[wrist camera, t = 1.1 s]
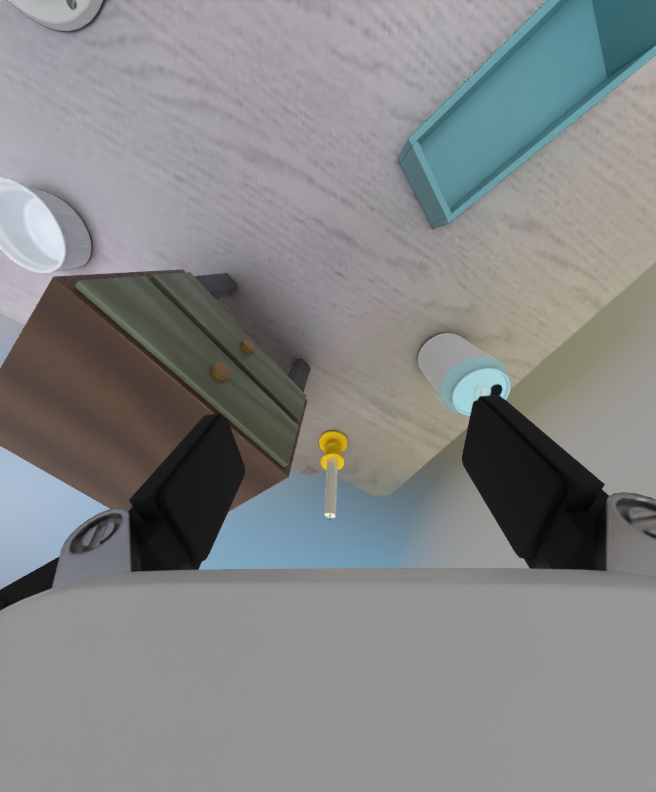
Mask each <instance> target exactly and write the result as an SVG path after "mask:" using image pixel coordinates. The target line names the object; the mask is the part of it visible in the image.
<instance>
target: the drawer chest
mask: <svg viewBox="0 0 656 792" xmlns="http://www.w3.org/2000/svg"><path fill="white" fill-rule="evenodd" d="M237 287H238V285H237V284H236V283H235V282H234V281H233V279H232V278H231V277H230V276H229V275H228V274H227V273H223V274H213V275H204V276H195V277H194V276H193V275H192V274H191V273H190V272H188V273H186V272H185V271H184V270H165V271H147V272H128V273H110V274H92V275H74V276H56V277H53V278H52V280H51V282H50V284H49V285H48V287H47V289H46V290H45V292H44V294H43V296H42V297H41V299H40V301H39V302H38V304H37V306H36V308H35V309H34V311H33V313H32V314H31V316H30V318H29V320H28V321H27V323H26V325H25V327H24V328H23V330H22V332H21V333H20V335H19V337H18V339H17V340H16V342H15V344H14V345H13V347H12V349H11V351H10V352H9V354H8V356H7V358H6V359H5V361H4V363H3V364H2V366H1V368H0V446H2V447H3V448H5V449H7V450H9V451H11V452H12V453H14V454H16V455H17V456H19V457H21V458H23V459H24V460H26V461H28V462H30V463H31V464H33V465H35V466H37V467H38V468H40V469H42V470H44V471H45V472H47V473H49V474H51V475H52V476H54V477H56V478H58V479H60V480H61V481H63V482H65V483H67V484H68V485H70V486H72V487H73V488H75V489H77V490H79V491H80V492H82V493H84V494H86V495H87V496H89V497H91V498H93V499H94V500H96V501H98V502H100V503H102V504H103V505H105V506H107V507H108V508H110V509H114V508H124V509H125V510H127V511H129V510H130V509H131V507H132V504H131V503H130V502H129V499H130V498H131V497H132V496H133V495H134V494H135V493H136V491H137V490H138V489H139V488H140V487H141V486H142V485H143V484H144V482H145V481H146V480H147V479H148V478H149V477H150V476H151V475H152V473H153V472H154V471H155V470H156V469H157V468H158V467H159V466H160V465H161V463H162V462H163V461H164V460H165V459H166V458H167V457H168V456H169V454H170V453H171V452H172V451H173V450H174V449H175V448H176V447H177V445H178V444H179V443H180V442H181V441H182V440H183V439H184V438H185V436H186V435H187V434H188V433H189V432H190V431H191V430H192V429H193V427H194V426H195V425H196V424H197V423H198V422H199V421H200V420H201V419H202V417H203V416H205V415H210V414H221V415H222V416H223V417H226V418H227V419H228V422H229V424H230V427H231V430H232V433H233V435H234V438H235V441H236V444H237V446H238V449H239V452H240V455H241V457H242V460H243V463H244V466H245V475H244V478H243V480H242V482H241V485H240V487H239V489H238V491H237V493H236V496H235V498H234V500H233V502H232V504H231V507H230V509H229V511H231V510H232V509H234V508H236V507H237V506H239V505H241V504H243V503H244V502H246V501H248V500H250V499H251V498H253V497H255V496H257V495H258V494H260V493H262V492H263V491H265V490H267V489H269V488H270V487H272V486H274V485H276V484H277V483H279V482H281V481H282V480H284V479H286V478H288V477H289V473H290V469H291V465H292V461H293V457H294V453H295V449H296V445H297V440H298V436H299V432H300V428H301V424H302V420H303V416H304V412H305V408H306V404H307V400H306V395H305V394H304V393H303V392H304V389H305V385H306V382H307V379H308V375H309V372H310V367H309V366H308V364H307V363H306V362H305V361H304V360H303V359H301V360H300V361H298V362H297V363H296V364H294V365H293V367H292V369H291V371H290V373H289V376H287V375H286V374H285V373H284V372H283V370H282V369H281V368H280V367H279V366H278V365H277V364H276V363H275V362H274V361H273V360H272V359H271V358H270V357H269V356H268V355H267V354H266V352H265V351H264V350H263V349H262V348H261V347H260V346H259V345H258V344H257V343H256V342H255V341H254V340H253V339H252V338H251V337H250V335H249V334H248V333H247V332H246V331H245V330H244V329H243V328H242V327H241V326H240V325H239V324H238V323H237V322H236V321H235V320H234V318H233V317H232V316H231V315H230V314H229V313H228V312H227V311H226V310H225V309H224V308H223V307H222V306H221V305H220V304H219V303H218V302H217V300H216V299H219V298H222V297H226V296H229V295H230V294H231V293H232V292H233V291H234V290H235V289H236V288H237ZM229 511H228V512H229Z"/></svg>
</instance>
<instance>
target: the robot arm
mask: <svg viewBox="0 0 656 792" xmlns="http://www.w3.org/2000/svg"><path fill="white" fill-rule="evenodd" d="M8 1H9V2H10V3H11V4H13V5H14V6H15V7H17V8H18V9H19V10H20V11H22V12H23V13H24V14H25V15H27V16H28V17H30V18H31V19H33V20H35V21H36V22H38V23H39V24H41V25H43V26H46V27H49V28H51V29H54V30H61V31H71V30H76V29H80V28H81V27H83V26H84V25H86V24H87V23H89V22H90V21H91V20H92V19H93V17H94V16H95V15H96V14H97V12H98V11H99V8H100V6H101V4H102V2H103V0H8ZM462 462H463V465H464V467H465V469H466V471H467V473H468V474H469V476H470V477H471V479H472V481H473V483H474V484H475V486H476V488H477V489H478V491H479V493H480V494H481V496H482V497H483V499H484V501H485V503H486V504H487V506H488V508H489V509H490V511H491V513H492V515H493V516H494V518H495V519H496V521H497V523H498V525H499V526H500V528H501V530H502V531H503V532H504V534H505V536H506V538H507V540H508V541H509V543H510V545H511V546H512V548H513V550H514V551H515V553H516V554H517V555H518V556H519V557H520V558H524V560H525V561H526V563H527V564H528V566H529V568H530V569H513V568H512V569H511V568H368V569H367V568H358V569H357V568H355V569H354V568H353V569H229V570H228V569H223V570H198V569H199V567H200V564H201V562H202V561H204V560H205V559H206V558H207V557H208V555H209V553H210V550H211V549H212V546H213V544H214V542H215V540H216V537H217V535H218V533H219V531H220V529H221V526H222V524H223V522H224V520H225V517H226V515H227V513H228V511H229V509H230V507H231V504H232V502H233V500H234V498H235V496H236V493H237V491H238V489H239V487H240V485H241V482H242V480H243V478H244V475H245V466H244V463H243V460H242V457H241V455H240V452H239V449H238V446H237V444H236V441H235V438H234V435H233V433H232V430H231V427H230V424H229V422H228V419H227V418H226V417H223V416H222V415H221V414H210V415H205V416H203V417H202V419H201V420H200V421H199V422H198V423H197V424H196V425H195V426H194V427H193V429H192V430H191V431H190V432H189V433H188V434H187V435H186V436H185V438H184V439H183V440H182V441H181V442H180V443H179V444H178V445H177V447H176V448H175V449H174V450H173V451H172V452H171V453H170V454H169V456H168V457H167V458H166V459H165V460H164V461H163V462H162V463H161V465H160V466H159V467H158V468H157V469H156V470H155V471H154V472H153V473H152V475H151V476H150V477H149V478H148V479H147V480H146V481H145V482H144V484H143V485H142V486H141V487H140V488H139V489H138V490H137V491H136V493H135V494H134V495H133V496H132V497H131V498H130V499H129V502H130V503H131V504H132V507H131V509H130V510H129V511H127V510H125V509H124V508H114V509H110V510H107V511H104V512H102V513H99V514H97V515H96V516H94V517H92V518H90V519H89V520H87V521H86V522H84V523H83V524H82V525H80V526H79V527H78V528H77V529H76V530H75V531H74V532H73V533H72V534H71V535H70V536H69V537H68V539H67V540H66V541H65V543H64V545H63V547H62V549H61V553H60V557H58V558H56V559H54V560H52V561H51V562H49V563H47V564H45V565H44V566H42V567H40V568H38V569H36V570H35V571H33V572H31V573H29V574H28V575H26V576H24V577H22V578H20V579H19V580H17V581H15V582H13V583H12V584H10V585H8V586H6V587H4V588H3V589H1V590H0V792H656V500H655V499H653V498H650V497H646V496H643V495H639V494H634V493H625V492H622V493H614V494H612V495H610V496H609V495H607V494H606V493H605V492H604V491H603V490H602V488H603V486H604V485H605V484H604V483H603V482H601V481H600V480H599V479H598V478H597V477H595V476H594V475H593V474H592V473H591V472H589V471H588V470H587V469H586V468H585V467H584V466H583V465H581V464H580V463H579V462H578V461H577V460H575V459H574V458H573V457H572V456H571V455H570V454H568V453H567V452H566V451H565V450H564V449H562V448H561V447H560V446H559V445H558V444H557V443H555V442H554V441H553V440H552V439H550V437H548V436H547V435H546V434H545V433H544V432H542V431H541V430H540V429H539V428H538V427H536V426H535V425H534V424H533V423H532V422H531V421H529V420H528V419H527V418H526V417H525V416H524V415H522V414H521V413H520V412H519V411H518V410H516V409H515V408H514V407H513V406H512V405H511V404H509V403H508V402H507V401H506V400H505V399H504V398H502V397H501V396H499V395H491V396H480V397H479V398H478V400H475V401H474V402H473V405H472V410H471V415H470V420H469V425H468V430H467V435H466V440H465V445H464V450H463V455H462Z"/></svg>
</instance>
